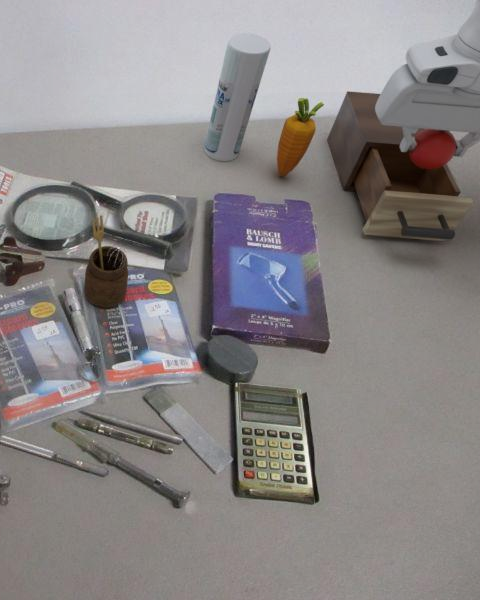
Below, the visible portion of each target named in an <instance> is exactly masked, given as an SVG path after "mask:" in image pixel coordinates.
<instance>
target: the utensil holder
mask: <svg viewBox="0 0 480 600" xmlns="http://www.w3.org/2000/svg"><path fill="white" fill-rule="evenodd" d="M91 222H92V223H91V225H92V234H93V239H94V240H97V246H98V247H97V248H95V249H94V250H93V251H92V252H91V254H90V255H89V258H88V262H87V263H88V264H87V265H86V269H85V273H84V289H83V290H84V293H85V294H84V295H85V297H86V299H87V300H88V301H89V302H90V303H91V304H92V305H94V306H96V307H99V308H102V309H103V308H104V309H105V308H106V309H108V308H109V309H110V308H113V307H116V306H118V305H119V304H121V303H122V301H123V300H124V299H125V298H126V293H127V289H128V282H129V269H128V266H129V265H128V257H127V254H126V253H127V252H126V247H125V246H123V247H122V246H121V244H119V245H118V246H115V244H113V245H112V246H110V245H104V246H102V238H103V237H104V236H105V229H104V220H103V215H102V214H99V216H96V217H95V218H94V217H92V219H91Z"/></svg>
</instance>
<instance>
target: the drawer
mask: <svg viewBox="0 0 480 600" xmlns="http://www.w3.org/2000/svg"><path fill="white" fill-rule="evenodd" d="M353 182H354V185H355V188H356V191H355V192H356V194H357V197H358V200H359V203H360V207H361V209H362V212H363V215H364V218H365V224H364V227H363V228H362V231H363V234H364V235H366V236H376V237H377V236H379V237H388V238H389V237H390V238H401V239H412V240H413V239H414V240H426V241H437V242H447V240H448V241H452V240H454V239H455V237H456V231H455V229H456V228H457V226H458V225H459V224H460V222H461V221H462V219H463V218H464V217H465V215H466V214H467V212H468V211H469V209H470V208H471V207H472V205H473V204H474V201H473V199H472V197H470V196H460V194H461V193H462V191H461V189H460V187H459V185H458V184H457V181H456V179H455V178H454V175H453V173H452V171H451V170H450V167H449V166H448V163H447V164H445V165H444V166H442V167H439V168H436V169H423V168H420V167H418V166H417V165H415V164H414V163H413V162H412V160H411V159H410V156H409V153H408V152H401V150H400V149H391V148H378V147H369V149H368V151H367V153H366V155H365V157H364V159H363V161H362V163H361V165H360V167H359V169H358V172H357V174H356V176H355V178H354V180H353Z"/></svg>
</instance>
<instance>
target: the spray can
mask: <svg viewBox="0 0 480 600" xmlns="http://www.w3.org/2000/svg"><path fill="white" fill-rule="evenodd" d="M271 47H272V46H271V43H270V41H269V40H268V39H266V38H265V37H263V36H262V35H258V34H254V33H250V32H241V33H236V34H232V36H229V38H228V41H227V44H226V49H225V54H224V58H223V63H222V67H221V71H220V74H219V75H220V76H219V80H218V84H217V89H216V93H215V96H214V97H215V98H214V102H213V106H212V111H211V116H210V120H209V123H208V128H207V132H206V137H205V141H204V145H203V146H204V147H203V150H204V153H205V154H206V156H207V157H209V158H210V159H212V160H214V161H218V162H231V161H234V160H235V159H236V158H237V157H238V155H239V154H240V150H241V147H242V144H243V141H244V139H245V135H246V131H247V127H248V125H249V122H250V118H251V114H252V111H253V107H254V105H255V101H256V99H257V95H258V92H259V88H260V84H261V82H262V78H263V74H264V72H265V69H266V64H267V61H268V58H269V54H270V52H271Z"/></svg>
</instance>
